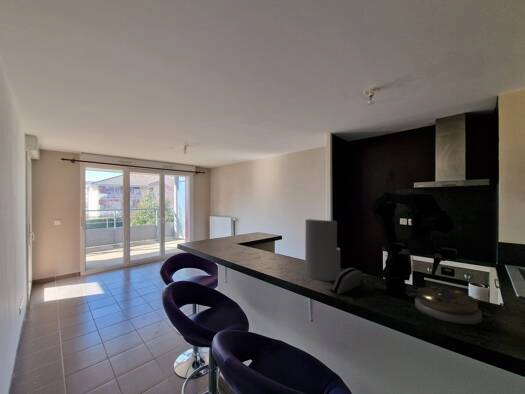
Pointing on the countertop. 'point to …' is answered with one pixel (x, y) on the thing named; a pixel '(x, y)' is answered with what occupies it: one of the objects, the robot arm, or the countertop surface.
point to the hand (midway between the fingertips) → (421, 275)
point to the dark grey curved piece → (346, 280)
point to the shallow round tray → (448, 300)
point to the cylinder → (321, 250)
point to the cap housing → (449, 314)
